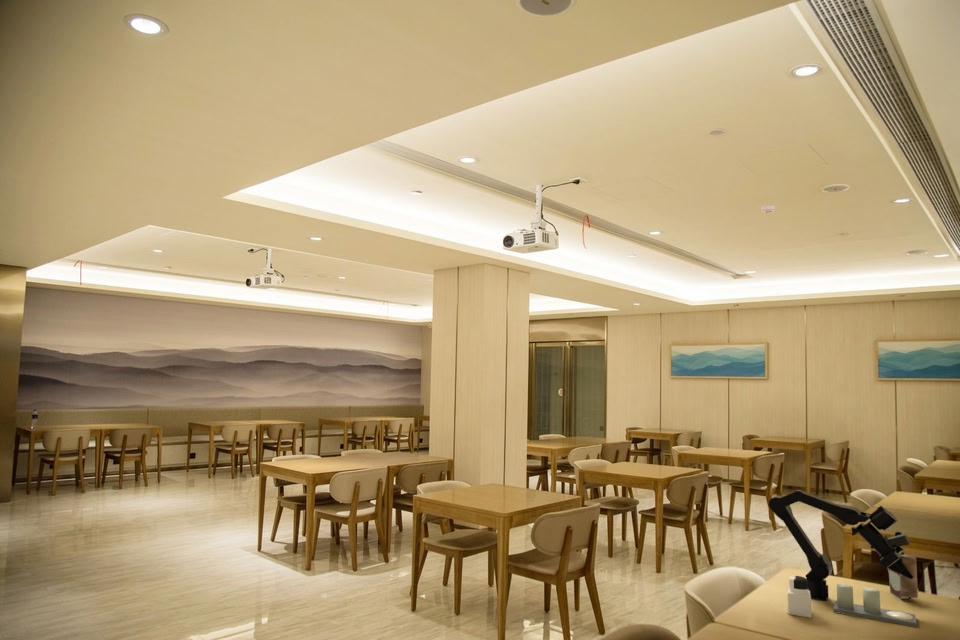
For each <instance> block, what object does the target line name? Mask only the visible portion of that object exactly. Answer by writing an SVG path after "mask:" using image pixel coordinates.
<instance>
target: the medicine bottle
mask: <svg viewBox="0 0 960 640" xmlns="http://www.w3.org/2000/svg"><path fill="white" fill-rule="evenodd" d="M786 593H787V613H788V615H791V616H796V617H797V616H798V617H804V618H812V616H813V615H812V598H811V595H810V591H809V589H808V580H807V579H806V577H804V576H801V575H791V576H789V577H788V587H787V592H786Z"/></svg>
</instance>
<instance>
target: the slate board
mask: <svg viewBox="0 0 960 640" xmlns="http://www.w3.org/2000/svg"><path fill="white" fill-rule="evenodd" d="M832 608H833V613H835V612H840V613H839V614H841V613H844V614H843V615H847V614H848V615H849V616H852V615H853V617H857V618H864V617H865V619H869V618H870V620H876V621H880V622H881V621H882V622H886V623H887V622H888V623H892V624H898V625H903V626H909V627H914V626H915V627H916V628H917V627H918V623H917V619H916V614H915V613H910V612H903V611H898V610H893V609H888V608H887V609H885V608H881V607H880V610H881V613H879V614H874V613H869V612H866V611H864V606H863V604H862V605H861V604H856V603H854V608H853V609H845V608H841V607H839V606H837V600H834V603H833V607H832ZM915 627H914V628H915Z"/></svg>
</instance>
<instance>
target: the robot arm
mask: <svg viewBox="0 0 960 640" xmlns="http://www.w3.org/2000/svg"><path fill="white" fill-rule="evenodd" d="M798 502H800V503H803V504H805V505H807V506H809V507H810V506H811V507H813V508H815V509H818V510H820V511H823V512H825V513H828V514H830V515H832V516H834V517H836V518H837V519H838V520H840V521H842V522H843V523H845V524H847V525H849V526H851V528H850V529H851V536H853V537H854V536H855V535H857V534H859V536H860V537H861V538H862V539H864V541H865V542H867V544H868V545H870V546H869V547H870V549H871V550H874V551H875V552H876V553H877V554H878V555H879V558H880V560H879V565H880V566H881V567H883V569H887V570H888V569H891V570H893V571H895V572H898V573H900V574H902V575H904V576H906V577H908V578H910V579H912V578H913V576H912V574H911V573H910V572H909V570H908V569H907V568H906V567H905V565H904V564H903V562H902V556H901V557H900V556H899V555H905V551H904V549H905V548H904V547H903V546H908V545H910V543H911V541H910V539H909V538H908V535H907V534H906V533H902V532H901V531H900V530H898V531H895V533H894V535H893V536H891V537H888V536H887V535H886V534H882V533H881V530H883V531H887V530H888V529H889V528H890V527H892V526H893V525H894V524H896V523H897V522H898V518H897V517H896V516H895V515H894V514H893V513H892V512H891V511H889V510H888V509H886V508H885V507H884V506H883V505H879V506H878V507H877V508H876V509H875V510H874V511H873V512H872V513H870V512H869V513H868V512H865V511H861V510H860V509H859V508H857V507H854V506H850V505H846V504H839V503H835V502H833V501H830V500H826V499H824V498H822V497H818V496H816V495H814V494H811V493H808V492H806V491H804V490H802V489H797V490H794V491H793V492H790V493H788V494H786V495H784V496H783V495H775V496H773V497H771V498H770V499H769V501H768V507H769V509H770V511H772V513H774V515H775V516H776V517H777V518H779V519H780V520H781V521H782V522H783V523H784V525H785V526H786V528H787V529H788V531H789V532H790V534H791V535H792V537H793V538H794V540H795V542H796V543H797V544H798V546H799V547H800V548H801V550H802V552H803V553H804V555H805V556H806V557H805V558H806V560H807V562H808V565H809V567H810V570H809V572H807V573H806V574H805V578H806V579H807V580H808V589H809V591H810V595H811V599H813V600H814V599H815V600H819V601H820V600H821V601H827V600H828V598H829V596H830V595H829V584H827V580H826V578H828V577H829V576H830V575H831V574H832V571H833V565H832V563H833V562H832V561H831V560H829V559H830V558H829V557H828V555H827V554H826V553H825V552H823V553H820V552H819V550H817V548H816V547H815V546H814V545H813V542H812V541H811V540H810V538H809V537H808V536H807V533H806V532H805V531H804V529H803V528H802V527H801V525H800V524H799V522H798V521H797V519H796V518H795V516H794V513H793V510H792V507H791V505H793V504H796V503H798ZM868 520H869V521H868ZM867 521H868V522H867ZM859 523H860V524H859ZM857 524H858V525H857ZM855 525H856V526H855ZM854 526H855V527H854Z"/></svg>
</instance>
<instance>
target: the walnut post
mask: <svg viewBox="0 0 960 640" xmlns="http://www.w3.org/2000/svg"><path fill="white" fill-rule="evenodd" d="M899 556H900V557H901V556H902V562H903V564H904V565H905V567H906V568H907V569H908V570H909V572H910V573H911V574H912V576H913V578H912V579H910V578H908V577H906V576H904V575H902V574H900V594H901V595H903V596H906V597H910V598H911V599H912V598H913V599H917V598H918V597H919V593H918V592H919V591H918V571H917V569H918V567H917V557H916V556H913V555H908V554H904V555H899Z"/></svg>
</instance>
